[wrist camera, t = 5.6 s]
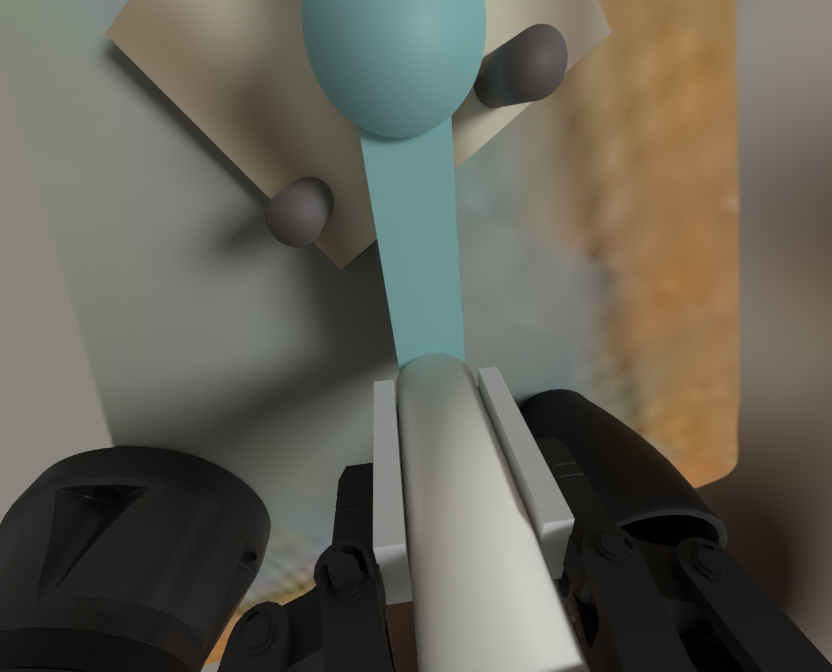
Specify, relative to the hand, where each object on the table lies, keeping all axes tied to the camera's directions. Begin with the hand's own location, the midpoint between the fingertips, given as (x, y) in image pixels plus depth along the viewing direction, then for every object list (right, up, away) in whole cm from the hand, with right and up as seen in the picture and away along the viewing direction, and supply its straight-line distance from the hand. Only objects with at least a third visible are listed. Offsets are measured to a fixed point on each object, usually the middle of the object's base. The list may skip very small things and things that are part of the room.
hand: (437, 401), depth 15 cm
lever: (-1, +9, -1) cm, 10 cm away
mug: (+8, -5, +11) cm, 14 cm away
